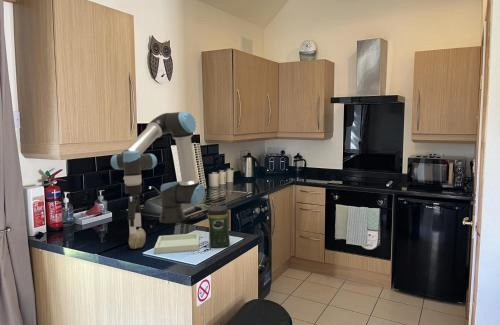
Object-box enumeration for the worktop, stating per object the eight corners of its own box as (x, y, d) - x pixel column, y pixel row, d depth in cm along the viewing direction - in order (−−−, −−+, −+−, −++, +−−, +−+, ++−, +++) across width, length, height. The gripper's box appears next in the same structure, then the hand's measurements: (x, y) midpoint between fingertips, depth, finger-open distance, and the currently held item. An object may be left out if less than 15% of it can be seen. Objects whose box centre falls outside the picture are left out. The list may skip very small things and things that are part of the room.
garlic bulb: (141, 249, 184) (144, 228, 187) (149, 250, 178) (152, 228, 180) (122, 248, 178) (125, 226, 181) (130, 248, 172) (133, 226, 175)
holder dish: (159, 241, 188) (159, 236, 188) (199, 238, 190) (199, 233, 190) (154, 254, 169) (154, 247, 169) (199, 250, 171) (198, 244, 171)
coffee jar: (229, 242, 182) (228, 203, 180) (229, 247, 174) (228, 207, 173) (209, 243, 181) (207, 204, 180) (208, 248, 174) (206, 208, 172)
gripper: (129, 181, 189) (132, 224, 190) (118, 188, 164) (121, 237, 166) (145, 180, 190) (147, 223, 191) (136, 187, 165) (139, 236, 166)
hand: (135, 229), depth 178 cm, fingers open, 13 cm apart
